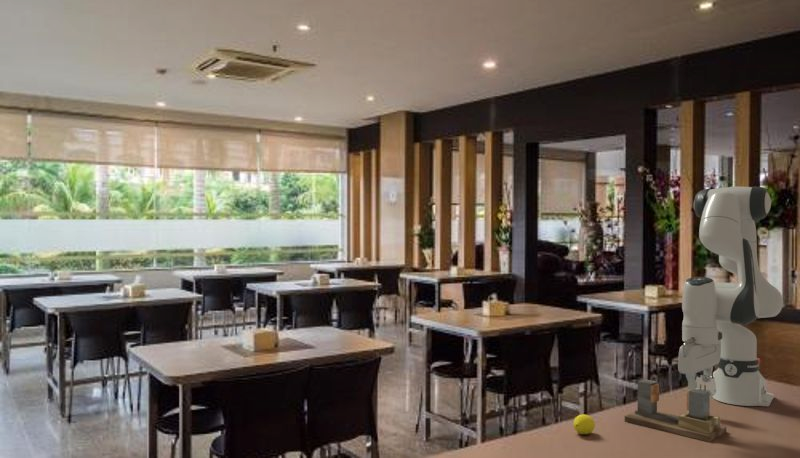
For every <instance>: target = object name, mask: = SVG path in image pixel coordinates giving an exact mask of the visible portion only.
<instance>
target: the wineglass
mask: <svg viewBox="0 0 800 458" xmlns="http://www.w3.org/2000/svg"><path fill="white" fill-rule="evenodd" d="M702 375H703V374H699V375H696V377H695V381H696V382H697V387H696V388H694V389H699V390H704V391H710V398H713V396H714V395H715V393H716V383H715V379H714V377H713V375H711V381H710V382H708V383H707V382H703V381H702Z"/></svg>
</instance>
